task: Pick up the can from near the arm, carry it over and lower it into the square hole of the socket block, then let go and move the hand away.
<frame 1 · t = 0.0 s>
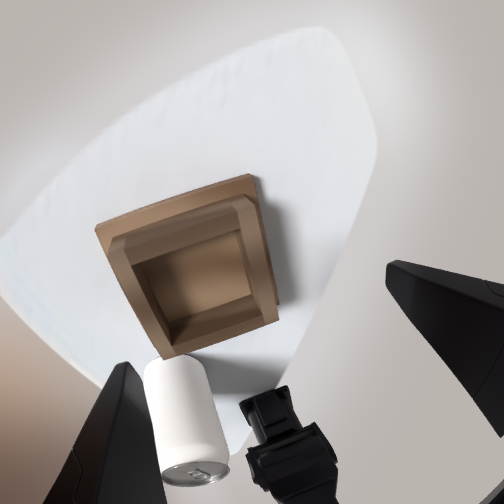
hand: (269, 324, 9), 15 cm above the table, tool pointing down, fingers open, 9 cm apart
can: (173, 371, 28), on the table
socket: (194, 266, 24), on the table
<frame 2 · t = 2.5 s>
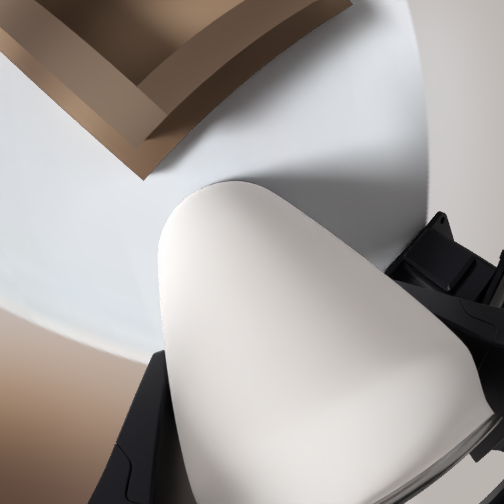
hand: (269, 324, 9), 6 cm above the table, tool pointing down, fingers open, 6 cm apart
can: (227, 246, 14), on the table, touching gripper
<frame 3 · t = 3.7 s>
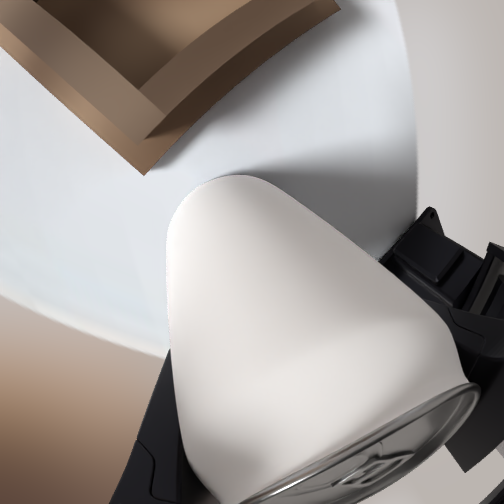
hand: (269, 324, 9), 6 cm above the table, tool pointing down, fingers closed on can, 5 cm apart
can: (232, 237, 15), on the table, touching gripper
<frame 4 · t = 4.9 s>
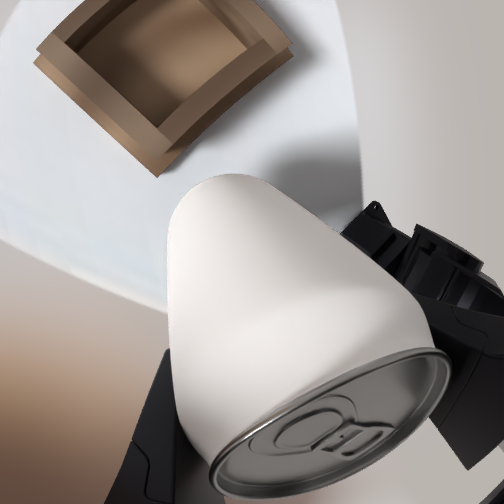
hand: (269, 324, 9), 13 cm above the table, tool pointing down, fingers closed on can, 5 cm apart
can: (229, 232, 16), point 5 cm above the table, touching gripper
socket: (161, 48, 15), on the table
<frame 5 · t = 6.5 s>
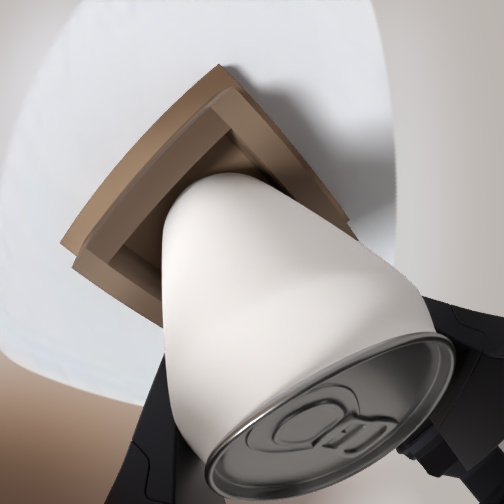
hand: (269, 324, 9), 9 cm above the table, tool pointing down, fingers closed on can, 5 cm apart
can: (225, 232, 15), point 1 cm above the table, touching gripper
socket: (211, 221, 16), on the table
when the fingers open (7 cm above the table, at t = 7.9 s): can stays where it is, resting on socket.
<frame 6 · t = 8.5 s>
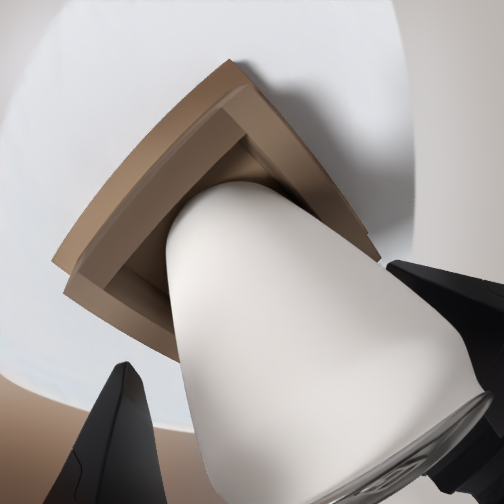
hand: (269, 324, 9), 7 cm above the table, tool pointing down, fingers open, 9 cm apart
can: (232, 244, 14), point 1 cm above the table, touching socket
socket: (219, 236, 15), on the table
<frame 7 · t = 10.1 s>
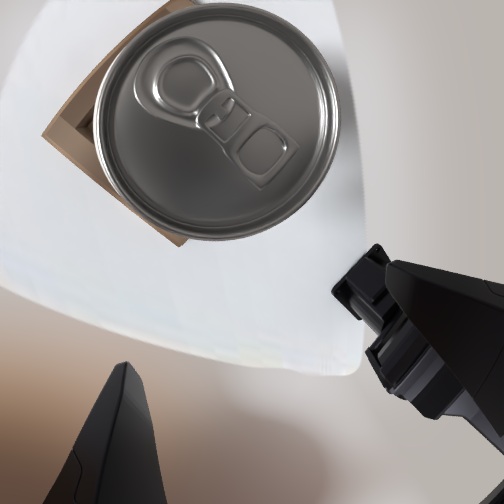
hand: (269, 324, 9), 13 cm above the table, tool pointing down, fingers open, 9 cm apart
can: (181, 118, 16), point 1 cm above the table, touching socket
socket: (172, 117, 17), on the table
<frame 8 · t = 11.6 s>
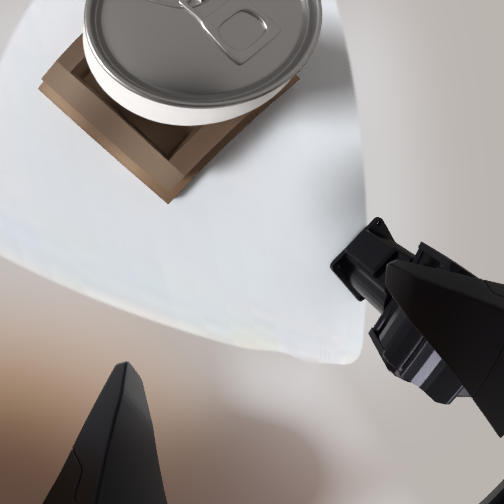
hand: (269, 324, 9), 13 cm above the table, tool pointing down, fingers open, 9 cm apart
can: (175, 72, 15), point 1 cm above the table, touching socket
socket: (168, 73, 16), on the table
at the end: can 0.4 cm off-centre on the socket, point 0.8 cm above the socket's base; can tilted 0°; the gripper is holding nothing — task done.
